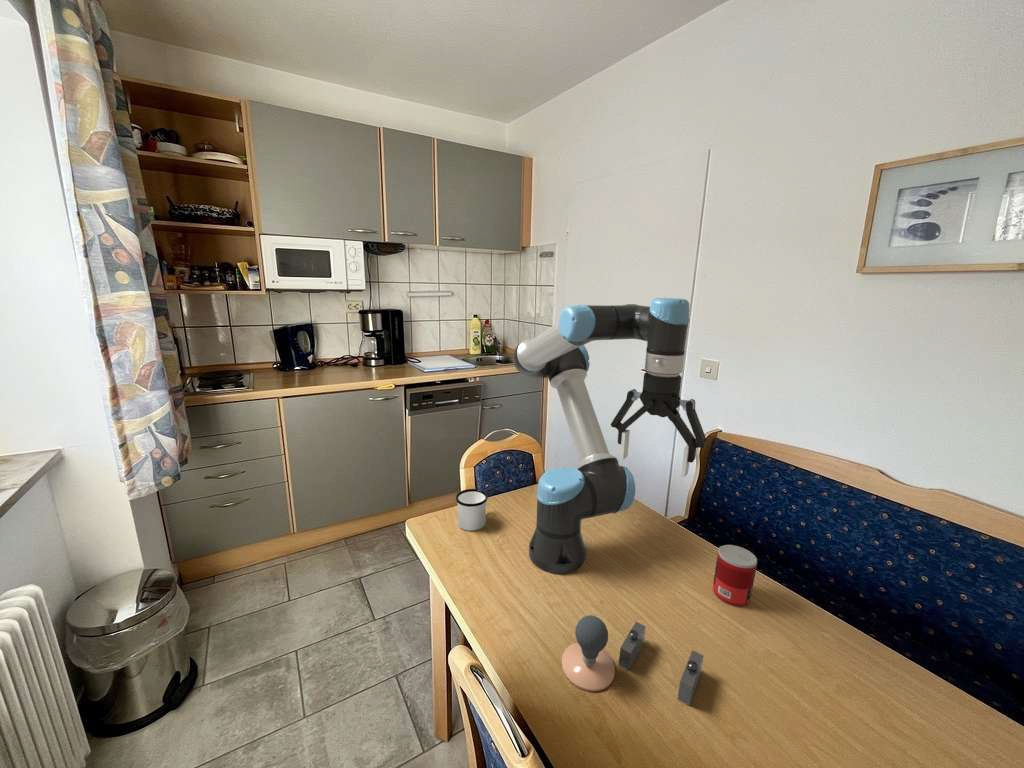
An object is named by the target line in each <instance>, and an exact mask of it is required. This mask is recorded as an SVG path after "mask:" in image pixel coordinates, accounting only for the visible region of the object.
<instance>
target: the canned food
mask: <svg viewBox="0 0 1024 768" xmlns="http://www.w3.org/2000/svg"><path fill="white" fill-rule="evenodd" d="M715 563H716V564H715V569H714V575H713V581H712V583H713V584H712V590H713V592H714V595H715V596H716V597H717V598H718V599H719V600H720V601H722V602H724V603H726V604H727V605H730V606H734V607H744V606H747V605H748V604H749V603H750V601H751V597H752V592H753V587H754V583H755V577H756V576H755V575H756V571H757V566H758V559H757V555H755V554H754V553H753V552H751V551H750V550H748V549H746V548H744V547H741V546H740V545H733V544H725V545H721V546H719V548H718V551H717V556H716V562H715Z"/></svg>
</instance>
